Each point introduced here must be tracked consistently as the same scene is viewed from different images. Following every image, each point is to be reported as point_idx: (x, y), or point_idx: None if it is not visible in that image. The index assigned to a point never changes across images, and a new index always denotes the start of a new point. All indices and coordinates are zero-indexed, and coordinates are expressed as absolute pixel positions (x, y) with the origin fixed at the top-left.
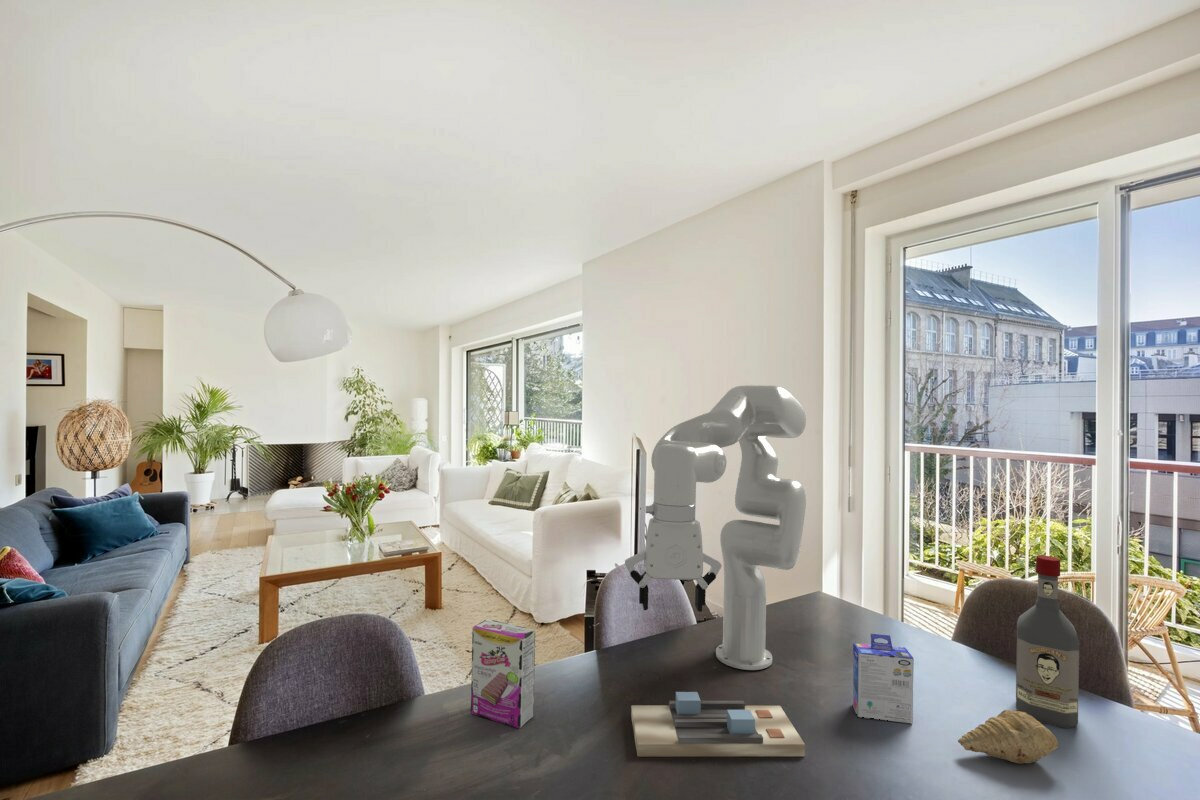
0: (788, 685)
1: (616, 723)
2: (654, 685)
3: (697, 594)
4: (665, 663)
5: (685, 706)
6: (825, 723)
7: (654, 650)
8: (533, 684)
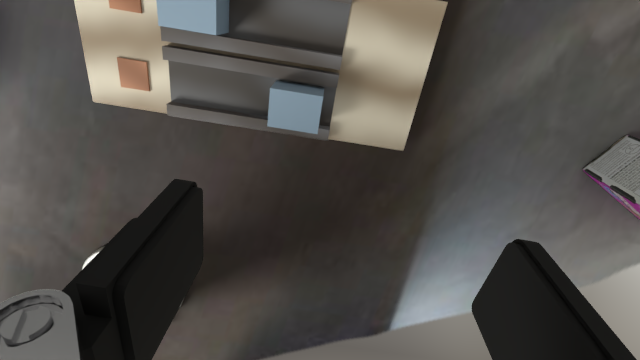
0: (71, 192)
1: (436, 124)
2: (322, 228)
3: (156, 278)
4: (281, 285)
5: (307, 90)
6: (17, 57)
7: (288, 321)
8: (636, 198)
